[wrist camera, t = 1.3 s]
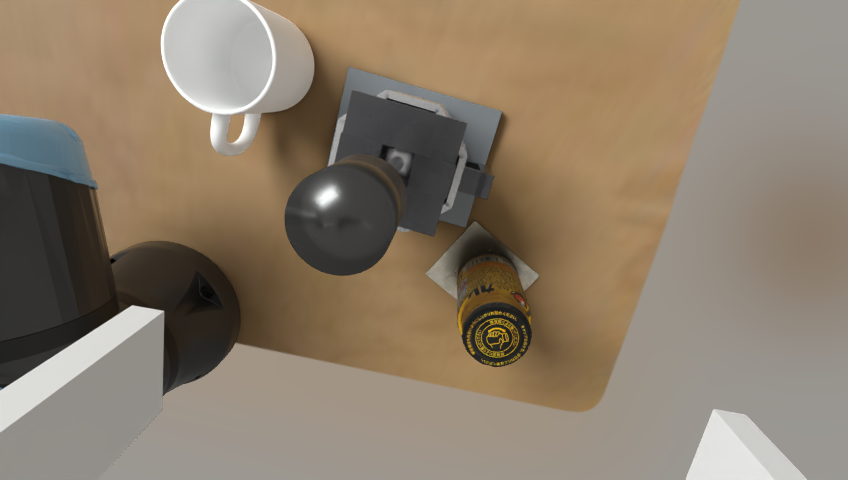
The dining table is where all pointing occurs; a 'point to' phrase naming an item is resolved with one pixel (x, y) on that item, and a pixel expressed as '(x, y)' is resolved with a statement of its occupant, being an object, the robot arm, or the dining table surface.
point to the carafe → (414, 151)
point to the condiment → (487, 296)
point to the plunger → (349, 211)
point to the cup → (235, 63)
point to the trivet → (476, 116)
